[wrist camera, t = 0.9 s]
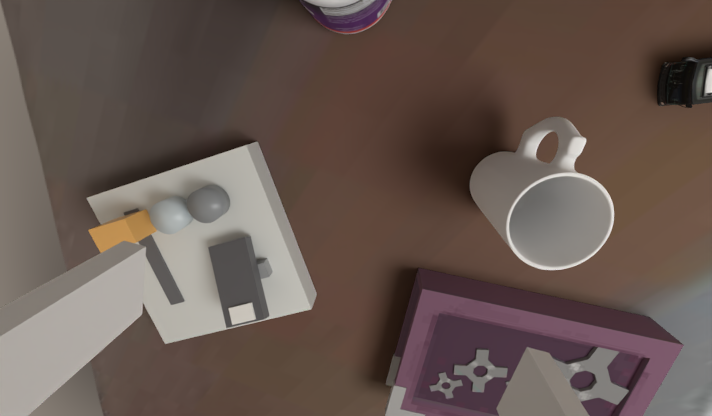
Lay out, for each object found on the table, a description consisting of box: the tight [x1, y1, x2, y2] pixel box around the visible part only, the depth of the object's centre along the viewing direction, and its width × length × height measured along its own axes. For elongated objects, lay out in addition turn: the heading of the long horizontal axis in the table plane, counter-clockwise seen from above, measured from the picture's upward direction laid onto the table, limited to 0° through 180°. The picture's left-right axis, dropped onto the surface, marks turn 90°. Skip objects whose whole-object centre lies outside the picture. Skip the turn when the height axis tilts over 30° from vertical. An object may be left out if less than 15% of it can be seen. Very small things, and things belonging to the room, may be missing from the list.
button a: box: [187, 185, 230, 223], centre depth 33 cm, size 3×3×2 cm
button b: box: [150, 196, 193, 234], centre depth 33 cm, size 3×3×2 cm
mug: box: [470, 117, 614, 270], centre depth 28 cm, size 10×7×12 cm, turn 170°
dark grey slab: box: [208, 236, 269, 328], centre depth 34 cm, size 8×4×1 cm, turn 18°
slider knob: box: [88, 209, 157, 253], centre depth 34 cm, size 2×4×3 cm, turn 108°
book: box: [385, 268, 684, 416], centre depth 38 cm, size 25×16×5 cm, turn 79°
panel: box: [87, 142, 317, 344], centre depth 37 cm, size 18×18×4 cm
